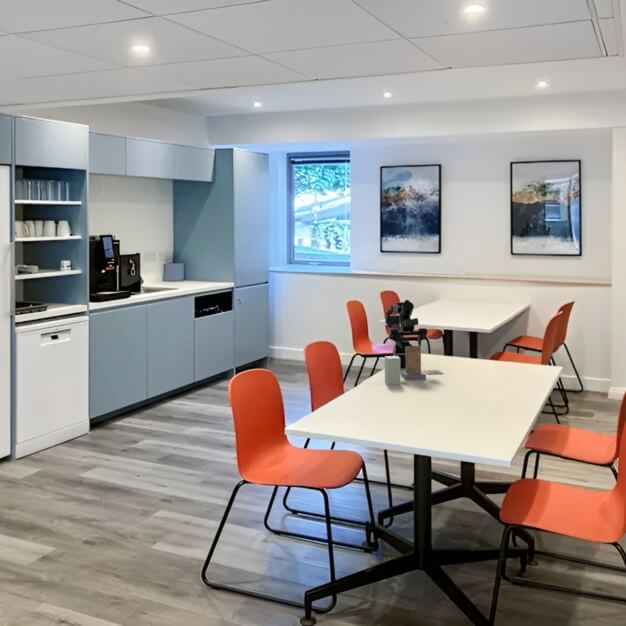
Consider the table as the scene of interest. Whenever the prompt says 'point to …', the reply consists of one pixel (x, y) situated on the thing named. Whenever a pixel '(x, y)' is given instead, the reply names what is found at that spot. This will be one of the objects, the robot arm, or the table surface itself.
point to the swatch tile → (433, 372)
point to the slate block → (413, 376)
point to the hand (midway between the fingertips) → (410, 347)
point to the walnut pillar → (413, 359)
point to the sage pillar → (392, 370)
